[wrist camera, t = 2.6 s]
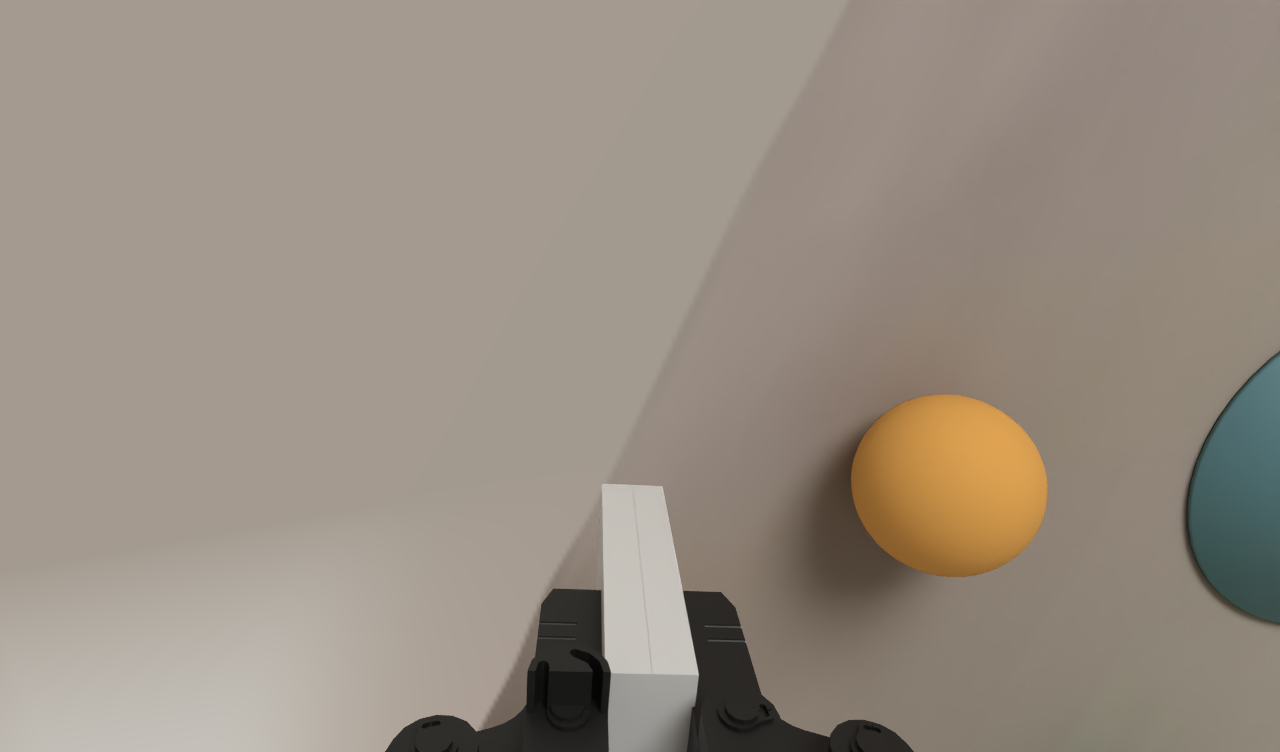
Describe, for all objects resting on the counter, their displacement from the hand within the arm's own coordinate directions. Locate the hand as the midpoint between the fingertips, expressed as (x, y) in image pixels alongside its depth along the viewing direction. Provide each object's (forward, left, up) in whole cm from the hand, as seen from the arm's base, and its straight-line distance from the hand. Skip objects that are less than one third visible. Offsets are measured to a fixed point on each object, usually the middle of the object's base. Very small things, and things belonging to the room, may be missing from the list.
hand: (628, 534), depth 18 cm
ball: (-10, 0, -4) cm, 11 cm away
